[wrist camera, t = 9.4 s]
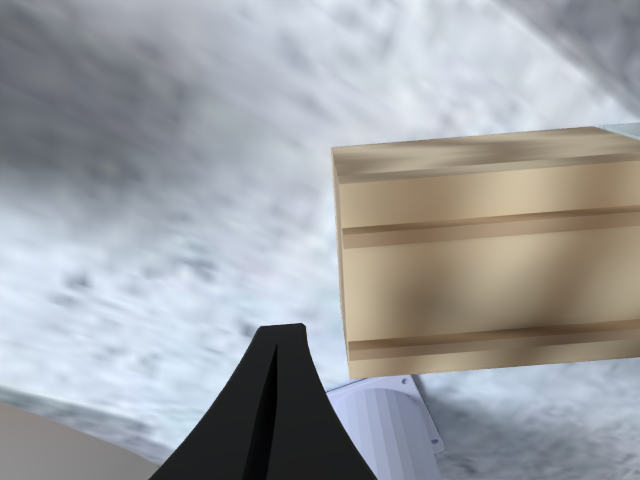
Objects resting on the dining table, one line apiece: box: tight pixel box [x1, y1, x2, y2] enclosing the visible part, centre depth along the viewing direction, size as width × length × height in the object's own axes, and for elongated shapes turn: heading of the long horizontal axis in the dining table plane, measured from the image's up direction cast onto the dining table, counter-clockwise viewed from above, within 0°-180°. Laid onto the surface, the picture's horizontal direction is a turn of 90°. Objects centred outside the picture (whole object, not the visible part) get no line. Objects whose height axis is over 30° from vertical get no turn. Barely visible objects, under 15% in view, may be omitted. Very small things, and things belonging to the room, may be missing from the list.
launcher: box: [331, 127, 640, 379], centre depth 19 cm, size 18×10×6 cm, turn 94°
